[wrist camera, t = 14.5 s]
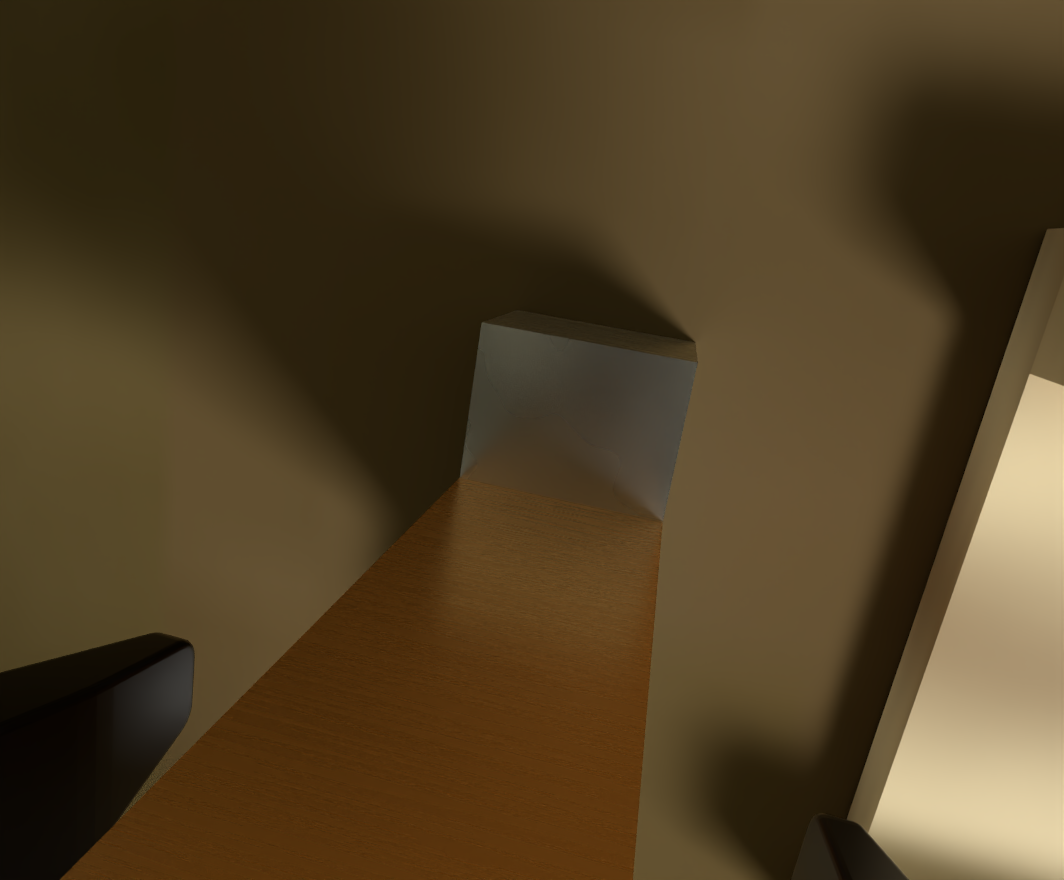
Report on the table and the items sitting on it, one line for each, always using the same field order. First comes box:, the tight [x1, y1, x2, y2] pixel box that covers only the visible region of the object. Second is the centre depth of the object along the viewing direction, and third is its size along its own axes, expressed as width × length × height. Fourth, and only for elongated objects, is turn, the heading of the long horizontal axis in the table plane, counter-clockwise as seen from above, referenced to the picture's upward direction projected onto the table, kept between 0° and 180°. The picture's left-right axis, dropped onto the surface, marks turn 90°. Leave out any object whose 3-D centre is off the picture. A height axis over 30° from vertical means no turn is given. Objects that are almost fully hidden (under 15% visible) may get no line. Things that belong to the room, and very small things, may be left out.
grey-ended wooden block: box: [60, 310, 698, 880], centre depth 9 cm, size 8×3×10 cm, turn 171°
